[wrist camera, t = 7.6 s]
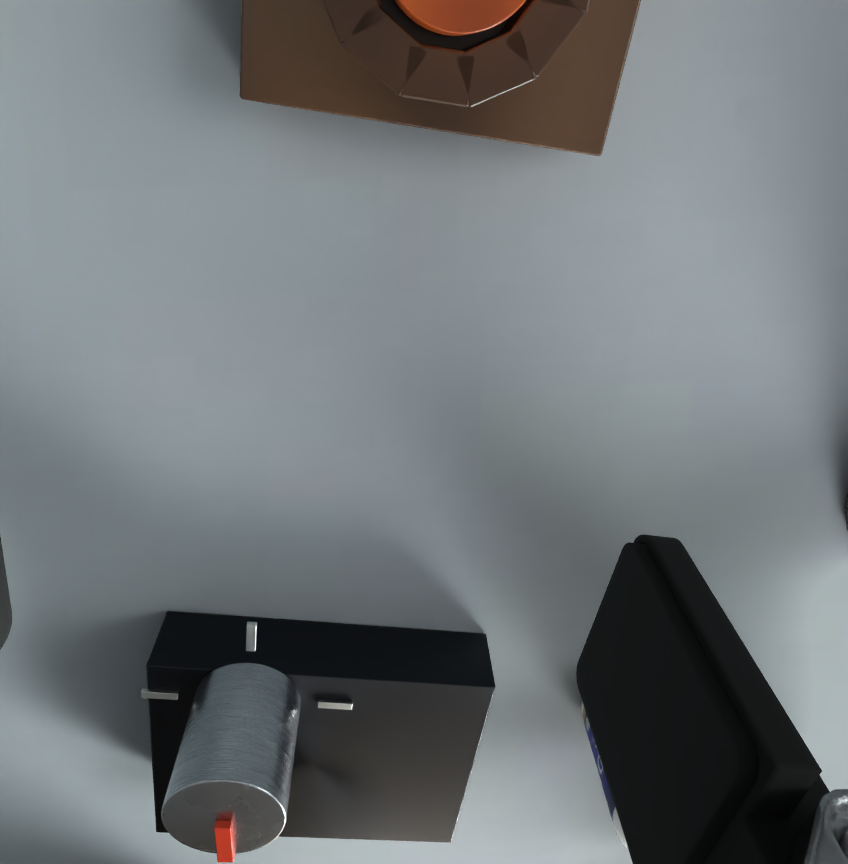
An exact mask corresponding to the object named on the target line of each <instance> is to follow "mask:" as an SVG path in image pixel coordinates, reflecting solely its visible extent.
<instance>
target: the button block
mask: <svg viewBox="0 0 848 864" xmlns="http://www.w3.org/2000/svg"><path fill="white" fill-rule="evenodd" d="M640 2H641V0H526V1H525V2H524V4H523V5H522V6H521V7H520V8H519V9H518V10H517V11H516V12H515V13H514V14H513V15H512V16H510V17H509V18H508V19H506V20H505V21H503V22H502V23H500V24H498V25H496V26H494V27H493V28H490V29H487V30H484V31H482V32H477V33H473V34H468V35H464V36H448V35H441V34H438V33H434V32H431V31H429V30H427V29H424V28H423V27H421V26H419V25H418V24H416V23H415V22H414V21H412V20H411V19H410V18H409V17H408V16H407V15H406V14H405V13H404V12H403V11H402V10H401V9H400V8H399V6H398V5H397V4H396V2H395V1H394V0H242V17H241V68H240V97H241V98H242V99H244V100H251V101H257V102H263V103H269V104H276V105H282V106H288V107H294V108H301V109H307V110H313V111H320V112H326V113H332V114H338V115H345V116H351V117H357V118H363V119H370V120H376V121H382V122H388V123H395V124H401V125H407V126H413V127H420V128H426V129H432V130H439V131H445V132H451V133H457V134H464V135H470V136H476V137H482V138H489V139H495V140H501V141H507V142H514V143H520V144H526V145H532V146H539V147H545V148H551V149H558V150H564V151H570V152H576V153H583V154H589V155H595V156H600V155H601V154H602V151H603V147H604V143H605V139H606V135H607V131H608V127H609V123H610V119H611V115H612V112H613V108H614V104H615V100H616V96H617V92H618V88H619V84H620V80H621V76H622V72H623V68H624V65H625V61H626V57H627V53H628V49H629V45H630V41H631V37H632V33H633V29H634V25H635V22H636V18H637V14H638V10H639V6H640Z"/></svg>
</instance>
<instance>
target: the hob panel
mask: <svg viewBox="0 0 848 864" xmlns="http://www.w3.org/2000/svg"><path fill="white" fill-rule="evenodd" d="M236 663H256V664H261V665H265V666H269V667H272V668H274V669H276V670H278V671H280V672H282V673H284V674H285V675H286V676H288V677H289V678H290V679H291V680H292V681H293V682H294V683H295V685H296V686H297V688H298V690H299V693H300V696H301V706H300V714H299V722H298V730H297V738H296V746H295V754H294V762H293V770H292V777H291V785H290V793H289V801H288V809H287V817H286V823H285V826H284V828H283V830H282V832H281V833H280V835H279V836H280V837H309V838H338V839H366V840H395V841H423V842H451V841H452V838H453V834H454V831H455V827H456V824H457V820H458V817H459V813H460V810H461V806H462V803H463V799H464V796H465V792H466V789H467V785H468V782H469V778H470V775H471V771H472V768H473V764H474V761H475V757H476V754H477V750H478V747H479V743H480V740H481V736H482V733H483V729H484V726H485V722H486V719H487V715H488V712H489V708H490V705H491V701H492V698H493V694H494V691H495V682H494V676H493V671H492V665H491V659H490V654H489V648H488V643H487V637H486V634H476V633H462V632H448V631H435V630H421V629H407V628H393V627H379V626H365V625H351V624H337V623H323V622H309V621H296V620H282V619H268V618H254V617H240V616H226V615H212V614H198V613H184V612H171V611H168V612H167V613H166V616H165V619H164V621H163V624H162V626H161V629H160V631H159V634H158V637H157V639H156V642H155V644H154V647H153V650H152V652H151V655H150V657H149V660H148V662H147V665H146V667H147V684H148V689H142V691H141V698H148V700H149V717H150V734H151V750H152V767H153V783H154V800H155V817H156V832H166V833H169V832H168V831H167V830H166V828H165V826H164V825H163V822H162V818H161V811H162V806H163V803H164V799H165V796H166V792H167V789H168V786H169V782H170V779H171V775H172V772H173V769H174V765H175V762H176V758H177V755H178V752H179V748H180V745H181V741H182V738H183V735H184V731H185V728H186V724H187V721H188V717H189V714H190V711H191V707H192V704H193V700H194V697H195V694H196V690H197V688H198V685H199V684H200V682H201V681H202V680H203V679H204V677H205V676H207V675H208V674H209V673H210V672H212V671H214V670H216V669H218V668H220V667H223V666H226V665H230V664H236Z"/></svg>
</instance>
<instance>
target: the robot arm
mask: <svg viewBox="0 0 848 864" xmlns="http://www.w3.org/2000/svg"><path fill="white" fill-rule="evenodd" d="M11 624H12V610H11V604H10V597H9V590H8V584H7V577H6V570H5V564H4V557H3V551H2V544H1V537H0V649H1V648H2V646H3V645H4V643H5V641H6V639H7V637H8V635H9V632H10V629H11ZM576 678H577V685H578V689H579V692H580V695H581V698H582V702H583V705H584V708H585V711H586V714H587V718H588V721H589V724H590V727H591V730H592V734H593V737H594V740H595V743H596V746H597V750H598V753H599V756H600V759H601V762H602V766H603V769H604V772H605V775H606V779H607V782H608V785H609V788H610V791H611V795H612V798H613V801H614V804H615V807H616V811H617V814H618V817H619V820H620V823H621V827H622V830H623V833H624V836H625V839H626V843H627V846H628V849H629V852H630V855H631V859H632V862H633V864H848V789H840V790H833V791H831V792H829V790H828V788H827V787H826V785H825V784H824V782H823V780H822V779H821V777H820V775H819V774H820V773H821V772H822V770H821V769H820V767H819V765H818V764H817V762H816V760H815V759H814V757H813V756H812V754H811V752H810V751H809V749H808V747H807V746H806V744H805V743H804V741H803V739H802V738H801V736H800V734H799V733H798V731H797V730H796V728H795V726H794V725H793V723H792V721H791V720H790V718H789V717H788V715H787V713H786V712H785V710H784V708H783V707H782V705H781V704H780V702H779V700H778V699H777V697H776V695H775V694H774V692H773V691H772V689H771V687H770V686H769V684H768V682H767V681H766V679H765V678H764V676H763V674H762V673H761V671H760V669H759V668H758V666H757V665H756V663H755V661H754V660H753V658H752V656H751V655H750V653H749V652H748V650H747V648H746V647H745V645H744V643H743V642H742V640H741V639H740V637H739V635H738V634H737V632H736V630H735V629H734V627H733V626H732V624H731V622H730V621H729V619H728V617H727V616H726V614H725V613H724V611H723V609H722V608H721V606H720V604H719V603H718V601H717V600H716V598H715V596H714V595H713V593H712V591H711V590H710V588H709V587H708V585H707V583H706V582H705V580H704V578H703V577H702V575H701V574H700V572H699V570H698V569H697V567H696V565H695V564H694V562H693V561H692V559H691V557H690V556H689V554H688V552H687V551H686V549H685V548H684V546H683V544H682V543H681V542H680V541H679V540H678V539H675V538H669V537H660V536H651V535H639V536H638V537H637V538H636V539H635V541H634V543H631V542H629V543H626V544H625V545H624V547H623V549H622V551H621V554H620V556H619V559H618V561H617V564H616V566H615V569H614V572H613V574H612V577H611V579H610V582H609V584H608V587H607V589H606V592H605V594H604V597H603V600H602V602H601V605H600V607H599V610H598V612H597V615H596V617H595V620H594V622H593V625H592V628H591V630H590V633H589V635H588V638H587V640H586V643H585V645H584V648H583V651H582V653H581V656H580V658H579V661H578V664H577V671H576Z"/></svg>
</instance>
